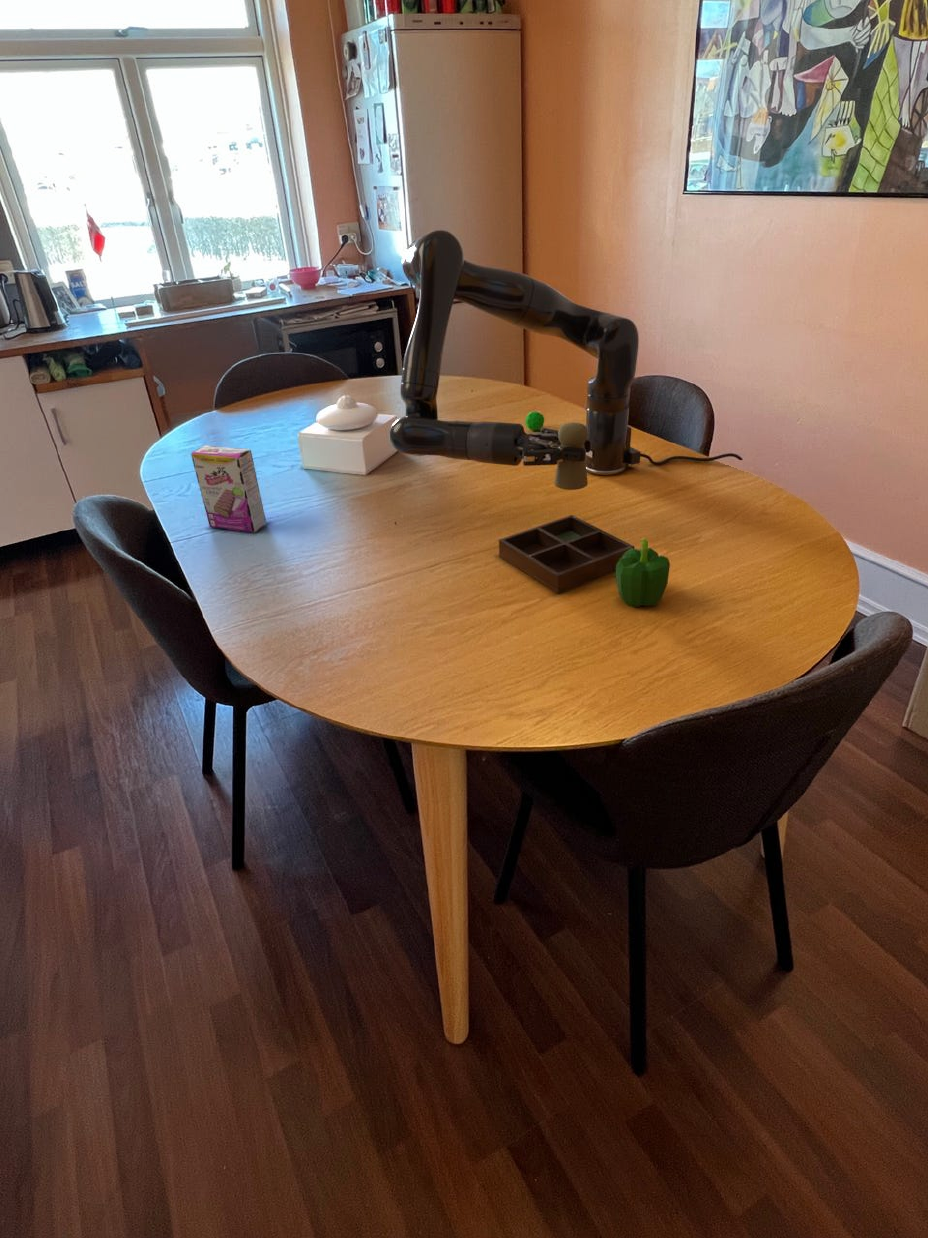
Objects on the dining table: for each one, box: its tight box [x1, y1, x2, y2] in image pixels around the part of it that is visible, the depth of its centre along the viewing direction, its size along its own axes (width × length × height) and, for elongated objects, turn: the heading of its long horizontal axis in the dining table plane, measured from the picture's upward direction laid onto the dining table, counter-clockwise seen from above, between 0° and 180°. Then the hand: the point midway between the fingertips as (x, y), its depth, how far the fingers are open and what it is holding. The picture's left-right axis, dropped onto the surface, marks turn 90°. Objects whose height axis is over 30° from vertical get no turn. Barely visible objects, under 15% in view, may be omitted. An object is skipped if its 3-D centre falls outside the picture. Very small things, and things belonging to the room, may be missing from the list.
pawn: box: [553, 421, 588, 491], centre depth 133 cm, size 6×6×11 cm
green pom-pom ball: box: [524, 410, 545, 432], centre depth 196 cm, size 5×5×5 cm
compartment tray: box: [498, 514, 635, 595], centre depth 133 cm, size 17×17×4 cm
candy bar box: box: [190, 445, 267, 534], centre depth 150 cm, size 11×5×16 cm, turn 71°
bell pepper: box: [615, 538, 671, 608], centre depth 119 cm, size 8×8×10 cm
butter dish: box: [296, 394, 398, 476], centre depth 181 cm, size 18×18×16 cm
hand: (587, 450), depth 131 cm, fingers closed on pawn, 4 cm apart
